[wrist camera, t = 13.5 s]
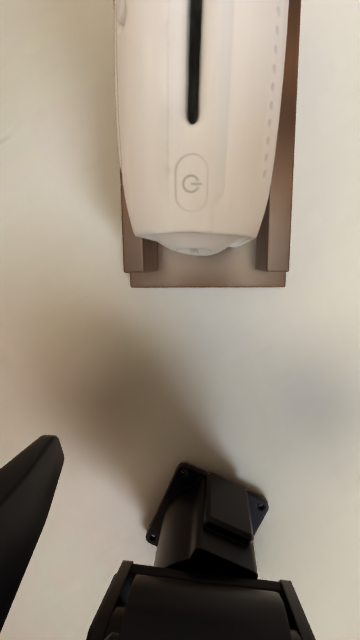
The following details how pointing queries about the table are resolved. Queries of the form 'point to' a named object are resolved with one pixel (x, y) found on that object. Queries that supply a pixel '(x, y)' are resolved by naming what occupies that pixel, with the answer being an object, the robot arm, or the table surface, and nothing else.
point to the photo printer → (198, 117)
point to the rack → (274, 233)
